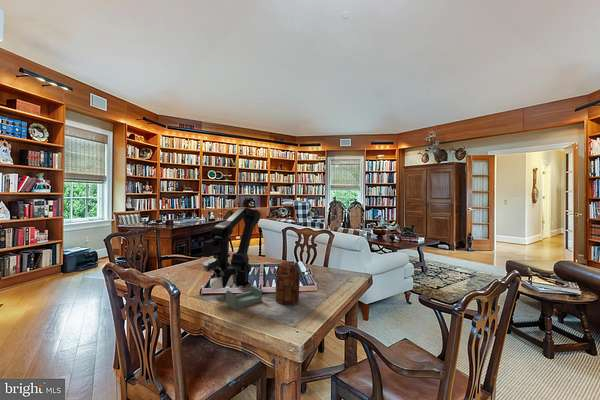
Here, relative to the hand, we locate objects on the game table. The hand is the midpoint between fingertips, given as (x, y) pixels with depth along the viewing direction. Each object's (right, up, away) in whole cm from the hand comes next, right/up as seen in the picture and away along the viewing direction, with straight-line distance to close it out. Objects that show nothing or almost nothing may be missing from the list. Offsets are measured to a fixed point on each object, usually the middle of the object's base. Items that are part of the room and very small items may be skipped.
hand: (221, 285), depth 134 cm
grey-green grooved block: (+12, -5, -8) cm, 15 cm away
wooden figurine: (+30, -6, -7) cm, 32 cm away
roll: (0, -1, 0) cm, 1 cm away
